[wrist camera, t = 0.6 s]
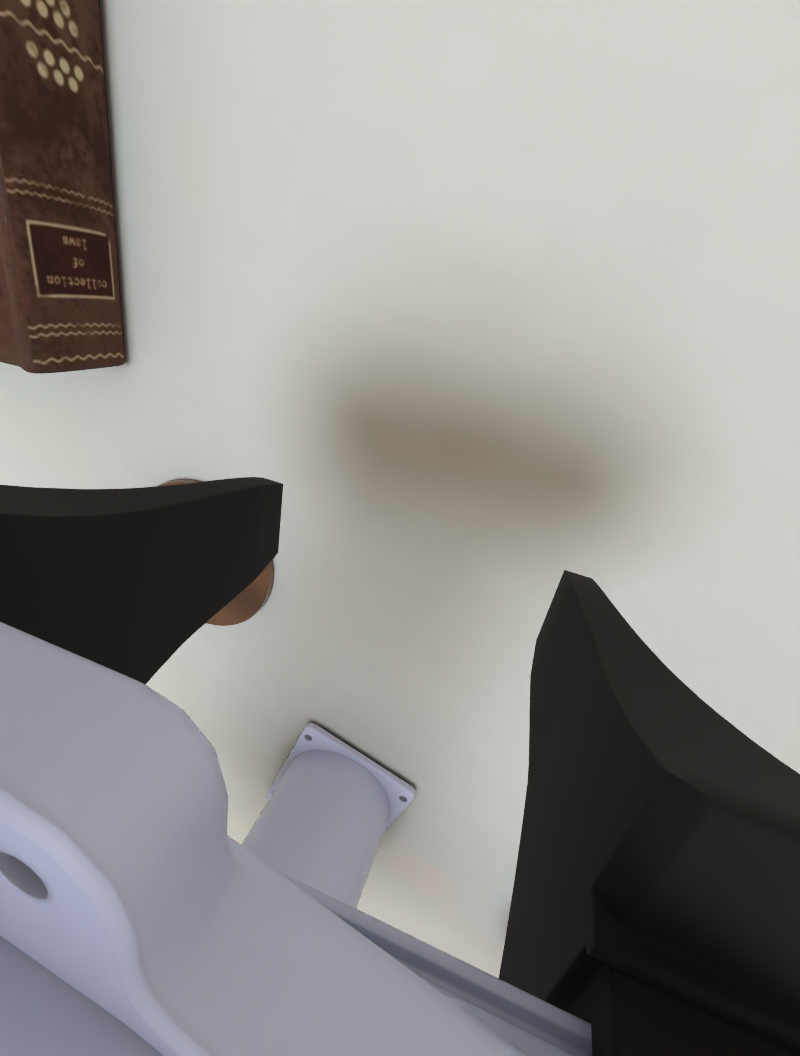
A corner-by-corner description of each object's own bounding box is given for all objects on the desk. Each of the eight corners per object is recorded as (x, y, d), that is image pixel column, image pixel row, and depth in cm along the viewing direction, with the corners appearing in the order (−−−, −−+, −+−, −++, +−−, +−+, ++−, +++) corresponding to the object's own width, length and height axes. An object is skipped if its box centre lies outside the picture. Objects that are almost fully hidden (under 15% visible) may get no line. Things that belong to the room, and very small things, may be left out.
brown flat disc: (249, 645, 29) (243, 651, 28) (130, 570, 30) (122, 574, 29) (294, 534, 25) (288, 538, 24) (154, 448, 25) (145, 451, 25)
